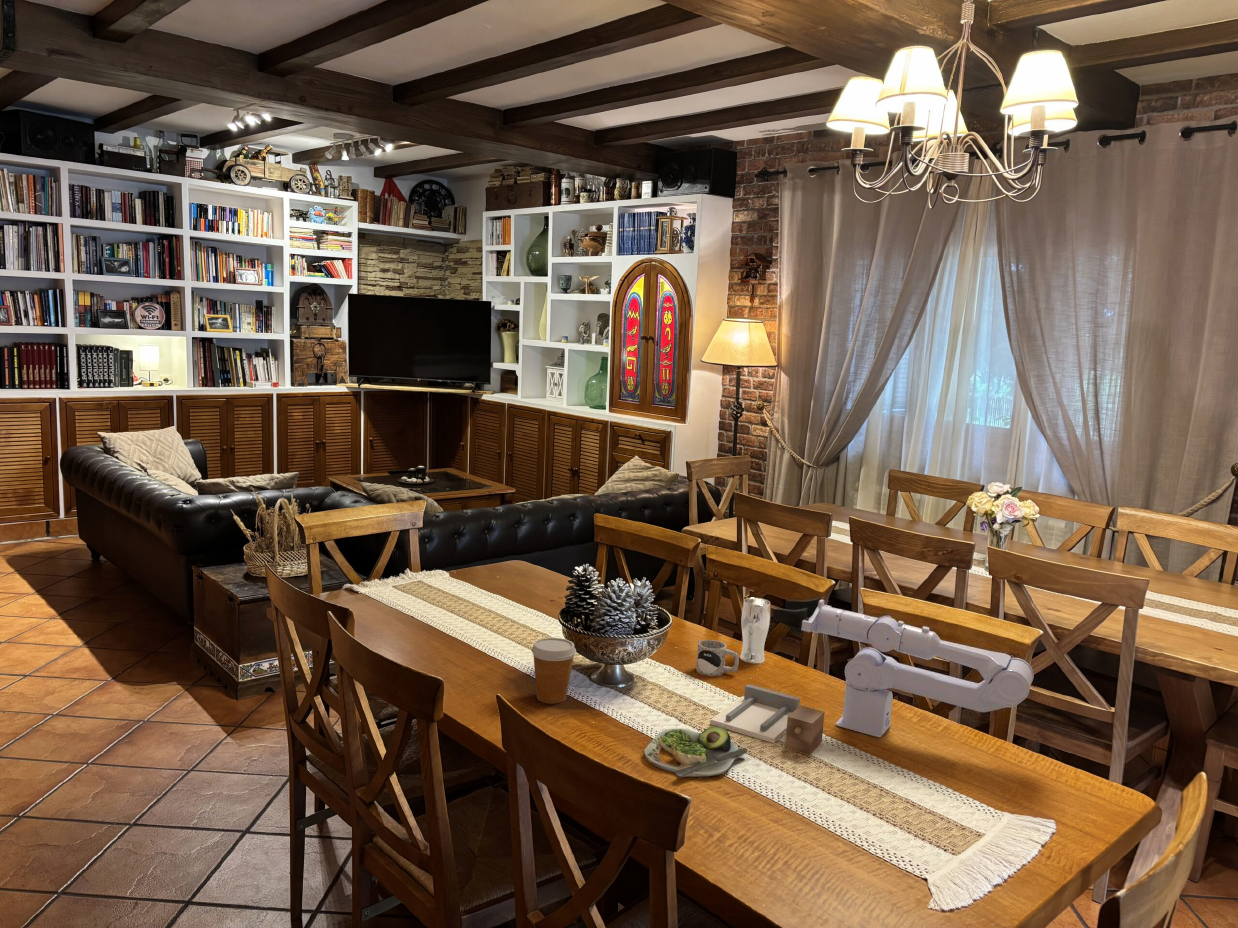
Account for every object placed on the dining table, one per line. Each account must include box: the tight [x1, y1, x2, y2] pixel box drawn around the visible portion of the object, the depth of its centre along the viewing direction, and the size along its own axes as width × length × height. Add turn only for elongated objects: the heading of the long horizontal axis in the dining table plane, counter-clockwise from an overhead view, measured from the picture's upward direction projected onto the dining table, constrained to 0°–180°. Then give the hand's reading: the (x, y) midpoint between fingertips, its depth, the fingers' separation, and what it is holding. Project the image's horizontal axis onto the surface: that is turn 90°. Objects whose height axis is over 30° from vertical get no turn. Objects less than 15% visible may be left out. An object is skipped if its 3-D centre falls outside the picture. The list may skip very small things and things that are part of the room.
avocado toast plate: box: [643, 726, 749, 778], centre depth 170 cm, size 19×18×5 cm
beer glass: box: [739, 597, 771, 665], centre depth 226 cm, size 7×7×15 cm
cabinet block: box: [784, 705, 825, 756], centre depth 179 cm, size 5×8×6 cm, turn 148°
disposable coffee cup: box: [531, 637, 577, 705], centre depth 195 cm, size 10×10×12 cm
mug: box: [695, 639, 740, 677], centre depth 216 cm, size 10×7×7 cm, turn 71°
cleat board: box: [709, 683, 801, 744], centre depth 190 cm, size 14×16×4 cm
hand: (779, 609), depth 197 cm, fingers open, 7 cm apart
